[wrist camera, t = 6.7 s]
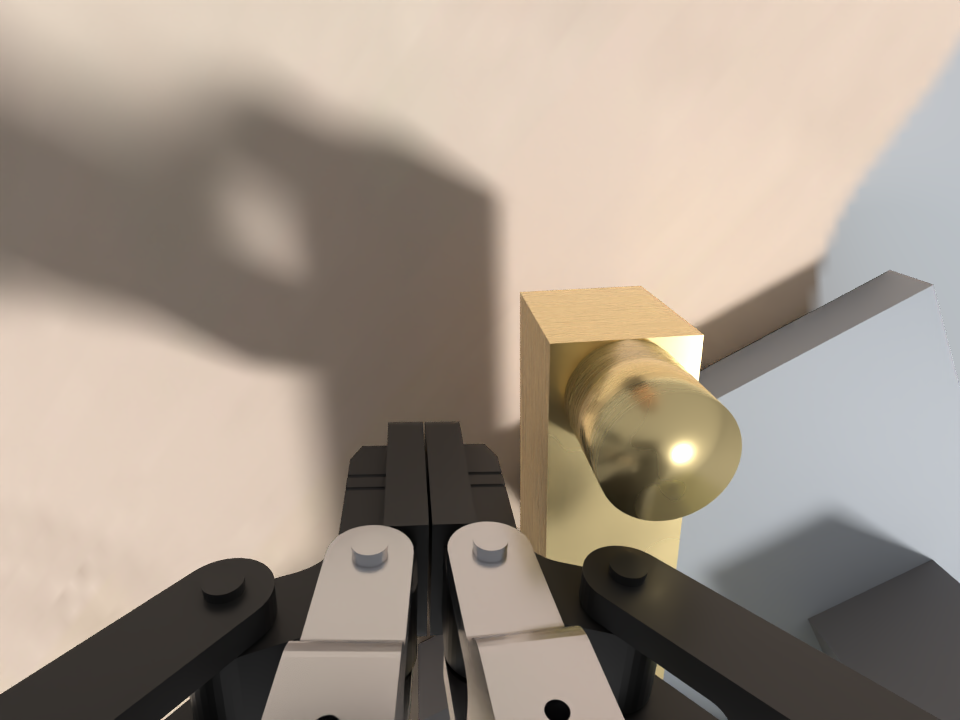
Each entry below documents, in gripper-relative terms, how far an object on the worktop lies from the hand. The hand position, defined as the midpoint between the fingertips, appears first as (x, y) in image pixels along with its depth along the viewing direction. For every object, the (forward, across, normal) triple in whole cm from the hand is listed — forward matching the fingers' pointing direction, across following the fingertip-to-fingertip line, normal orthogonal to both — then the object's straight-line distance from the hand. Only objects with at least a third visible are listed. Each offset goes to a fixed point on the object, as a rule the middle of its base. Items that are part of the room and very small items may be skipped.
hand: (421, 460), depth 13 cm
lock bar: (0, -4, +4) cm, 5 cm away
